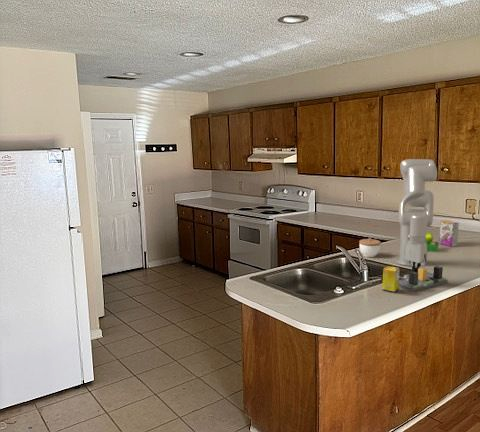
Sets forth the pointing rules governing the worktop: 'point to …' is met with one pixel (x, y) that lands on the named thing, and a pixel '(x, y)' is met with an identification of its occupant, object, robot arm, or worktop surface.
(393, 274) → the supplement box
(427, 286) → the compartment sorting tray
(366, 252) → the lidded bowl
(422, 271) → the handle
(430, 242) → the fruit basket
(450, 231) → the candy bar box
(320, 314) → the worktop surface
